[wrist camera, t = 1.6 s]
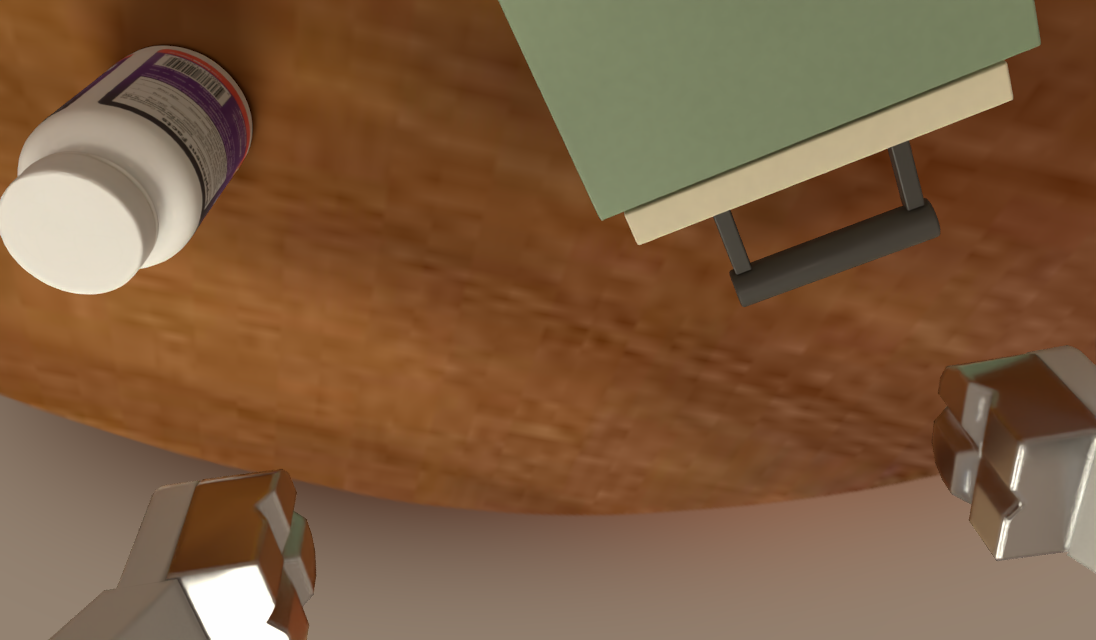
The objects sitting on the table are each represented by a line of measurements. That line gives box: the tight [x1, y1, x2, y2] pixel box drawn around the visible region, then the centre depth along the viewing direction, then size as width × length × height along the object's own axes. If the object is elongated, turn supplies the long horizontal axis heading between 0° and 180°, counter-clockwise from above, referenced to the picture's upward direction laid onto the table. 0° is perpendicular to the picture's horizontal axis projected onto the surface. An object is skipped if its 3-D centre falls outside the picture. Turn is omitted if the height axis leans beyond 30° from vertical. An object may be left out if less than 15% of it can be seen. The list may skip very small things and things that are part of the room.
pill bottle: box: [0, 46, 252, 294], centre depth 30 cm, size 5×5×10 cm
